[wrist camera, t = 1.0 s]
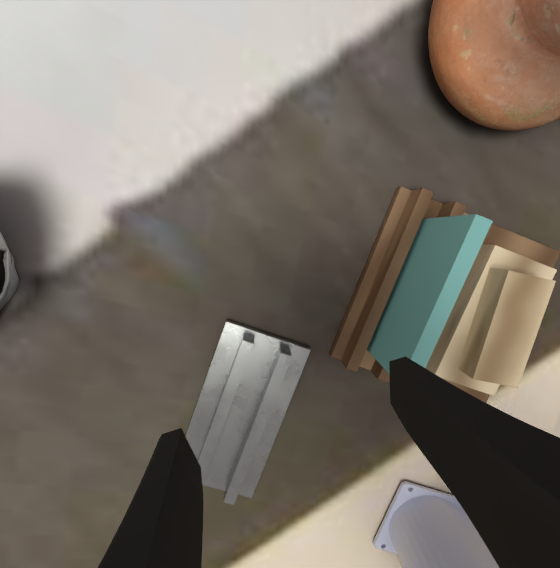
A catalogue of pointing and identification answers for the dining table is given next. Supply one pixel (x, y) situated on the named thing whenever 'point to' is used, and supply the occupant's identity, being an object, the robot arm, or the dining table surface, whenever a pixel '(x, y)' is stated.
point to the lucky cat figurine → (7, 274)
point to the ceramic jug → (498, 60)
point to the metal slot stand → (243, 406)
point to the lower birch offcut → (464, 310)
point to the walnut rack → (386, 269)
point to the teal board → (427, 288)
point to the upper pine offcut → (505, 326)
